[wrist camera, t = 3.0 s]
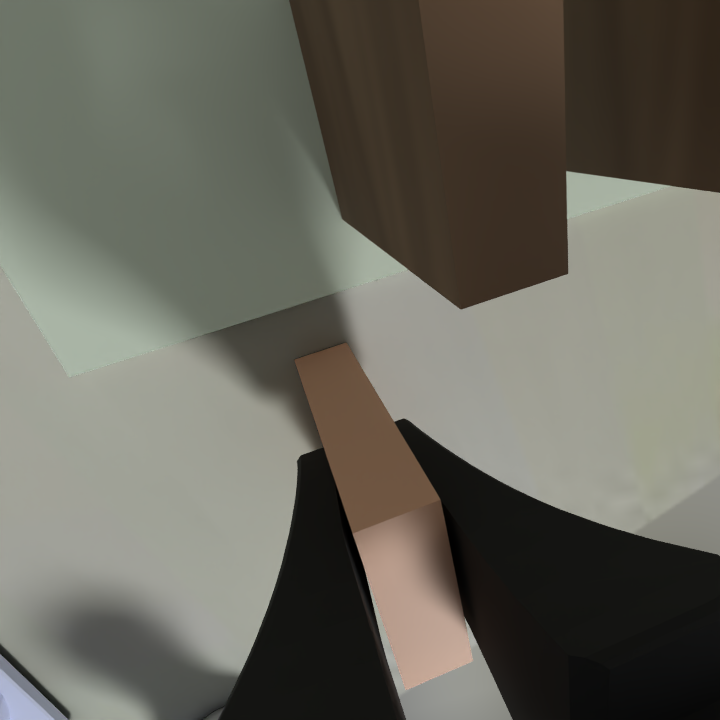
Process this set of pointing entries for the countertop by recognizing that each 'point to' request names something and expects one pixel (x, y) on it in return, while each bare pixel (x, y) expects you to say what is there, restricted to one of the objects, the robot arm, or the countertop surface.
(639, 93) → the domino
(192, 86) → the sage mat
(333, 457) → the terracotta domino
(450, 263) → the domino
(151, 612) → the countertop surface
